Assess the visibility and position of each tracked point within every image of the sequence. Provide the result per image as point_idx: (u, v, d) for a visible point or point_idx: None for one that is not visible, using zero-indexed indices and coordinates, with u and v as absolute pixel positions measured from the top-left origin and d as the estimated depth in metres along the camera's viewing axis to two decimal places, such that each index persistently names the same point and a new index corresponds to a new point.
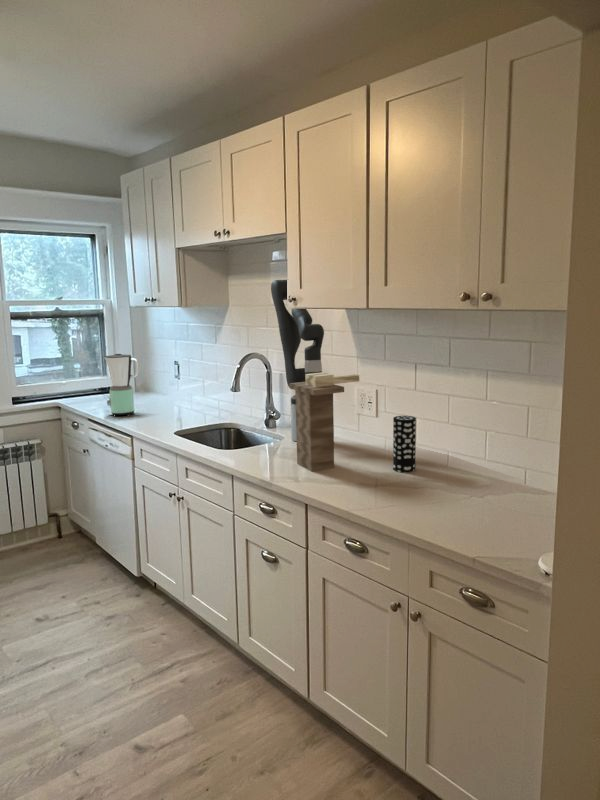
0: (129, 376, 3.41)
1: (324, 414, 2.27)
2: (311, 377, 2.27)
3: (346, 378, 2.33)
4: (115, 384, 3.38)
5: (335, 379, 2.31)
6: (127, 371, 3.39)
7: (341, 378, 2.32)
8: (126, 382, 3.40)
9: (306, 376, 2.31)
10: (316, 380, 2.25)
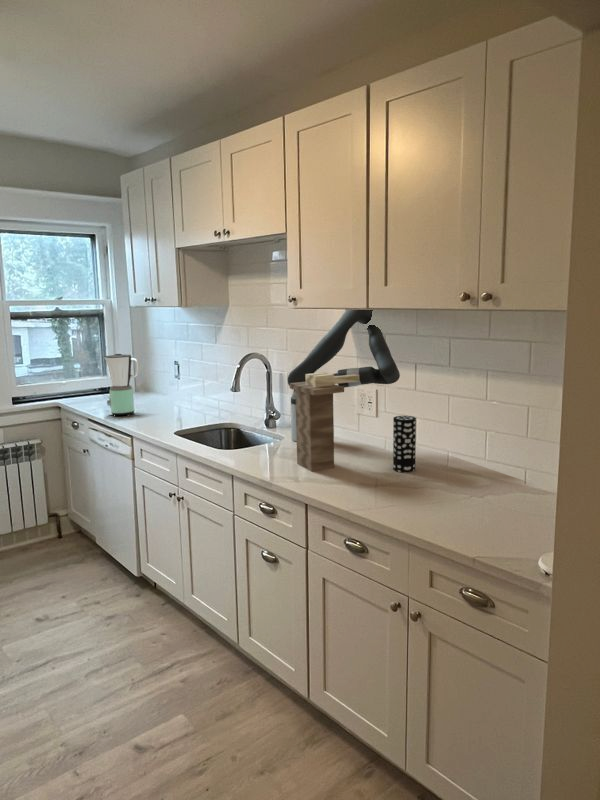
0: (129, 376, 3.41)
1: (324, 414, 2.27)
2: (311, 377, 2.27)
3: (346, 378, 2.33)
4: (115, 384, 3.38)
5: (335, 379, 2.31)
6: (127, 371, 3.39)
7: (341, 378, 2.32)
8: (126, 382, 3.40)
9: (306, 376, 2.31)
10: (316, 380, 2.25)
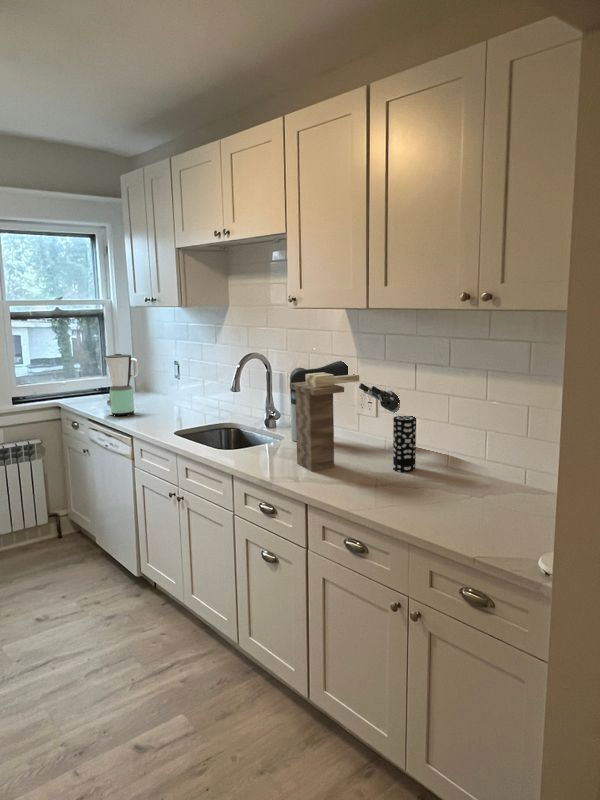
0: (129, 376, 3.41)
1: (324, 414, 2.27)
2: (311, 377, 2.27)
3: (346, 378, 2.33)
4: (115, 384, 3.38)
5: (335, 379, 2.31)
6: (127, 371, 3.39)
7: (341, 378, 2.32)
8: (126, 382, 3.40)
9: (306, 376, 2.31)
10: (316, 380, 2.25)
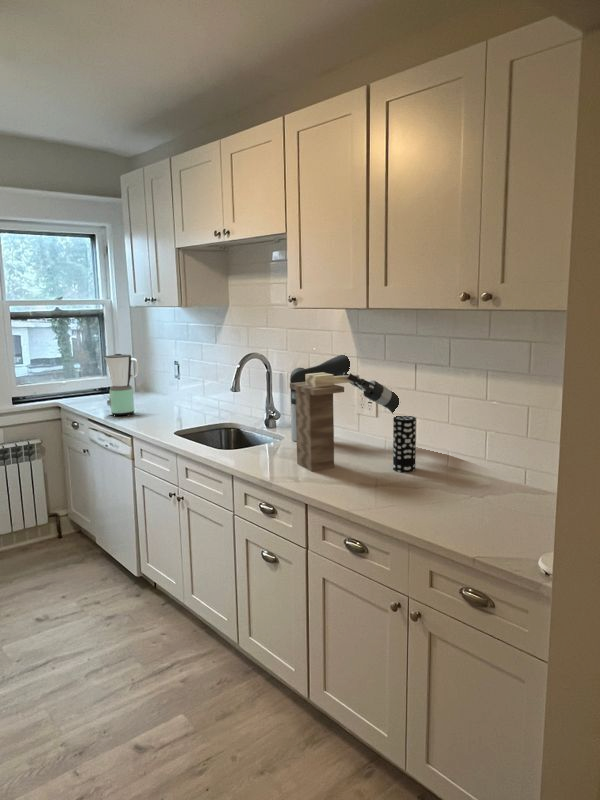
0: (129, 376, 3.41)
1: (324, 414, 2.27)
2: (311, 377, 2.27)
3: (346, 378, 2.34)
4: (115, 384, 3.38)
5: (335, 379, 2.31)
6: (127, 371, 3.39)
7: (341, 378, 2.32)
8: (126, 382, 3.40)
9: (306, 376, 2.31)
10: (316, 380, 2.25)
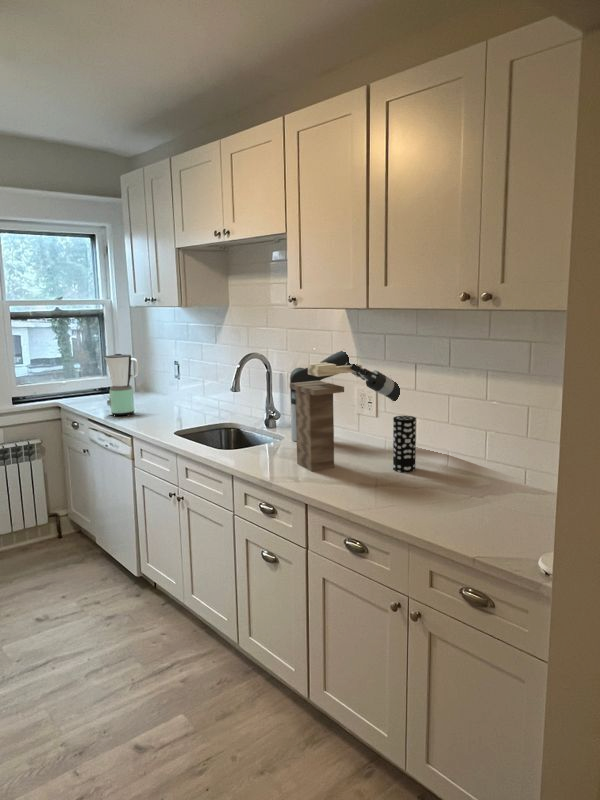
0: (129, 376, 3.41)
1: (324, 414, 2.27)
2: (314, 366, 2.27)
3: (348, 368, 2.33)
4: (115, 384, 3.38)
5: (337, 369, 2.31)
6: (127, 371, 3.39)
7: (343, 368, 2.32)
8: (126, 382, 3.40)
9: (308, 366, 2.31)
10: (318, 370, 2.25)
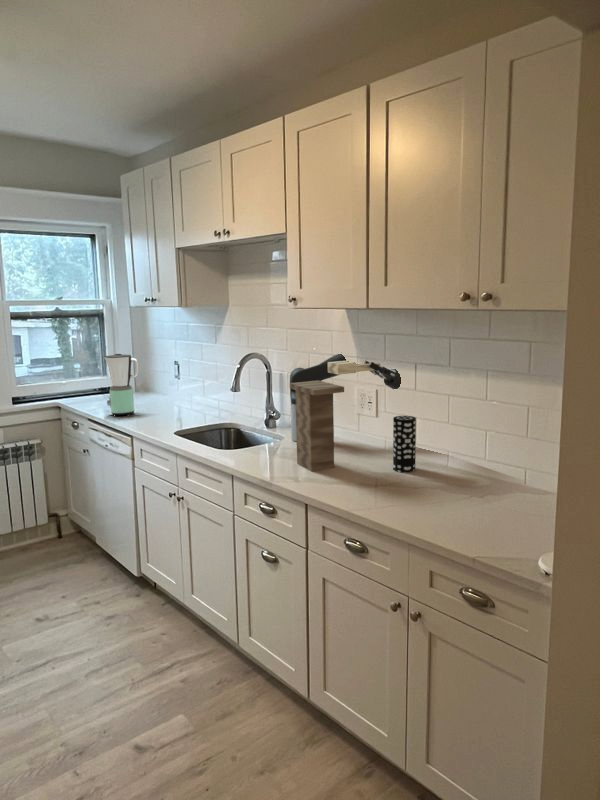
0: (129, 376, 3.41)
1: (324, 414, 2.27)
2: (334, 365, 2.31)
3: (367, 366, 2.37)
4: (115, 384, 3.38)
5: (357, 367, 2.35)
6: (127, 371, 3.39)
7: (363, 366, 2.36)
8: (126, 382, 3.40)
9: (328, 364, 2.35)
10: (338, 368, 2.29)
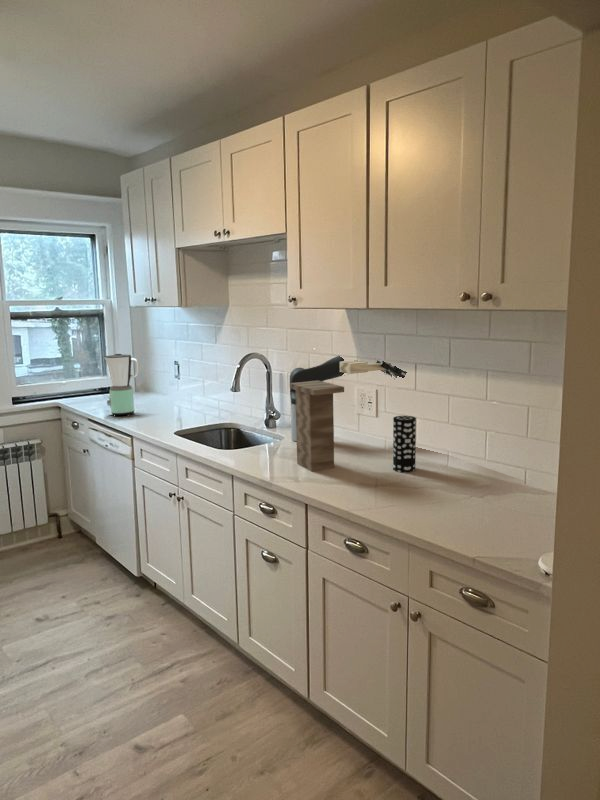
0: (129, 376, 3.41)
1: (324, 414, 2.27)
2: (346, 364, 2.33)
3: (379, 366, 2.40)
4: (115, 384, 3.38)
5: (368, 366, 2.38)
6: (127, 371, 3.39)
7: (374, 365, 2.39)
8: (126, 382, 3.40)
9: (340, 364, 2.37)
10: (351, 367, 2.31)
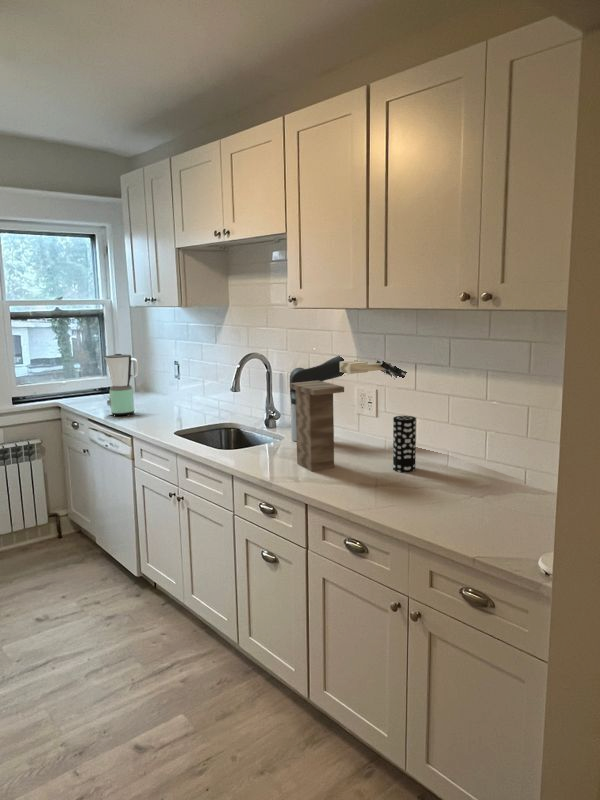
0: (129, 376, 3.41)
1: (324, 414, 2.27)
2: (346, 364, 2.33)
3: (379, 366, 2.40)
4: (115, 384, 3.38)
5: (368, 366, 2.38)
6: (127, 371, 3.39)
7: (374, 365, 2.39)
8: (126, 382, 3.40)
9: (340, 364, 2.37)
10: (351, 367, 2.31)
